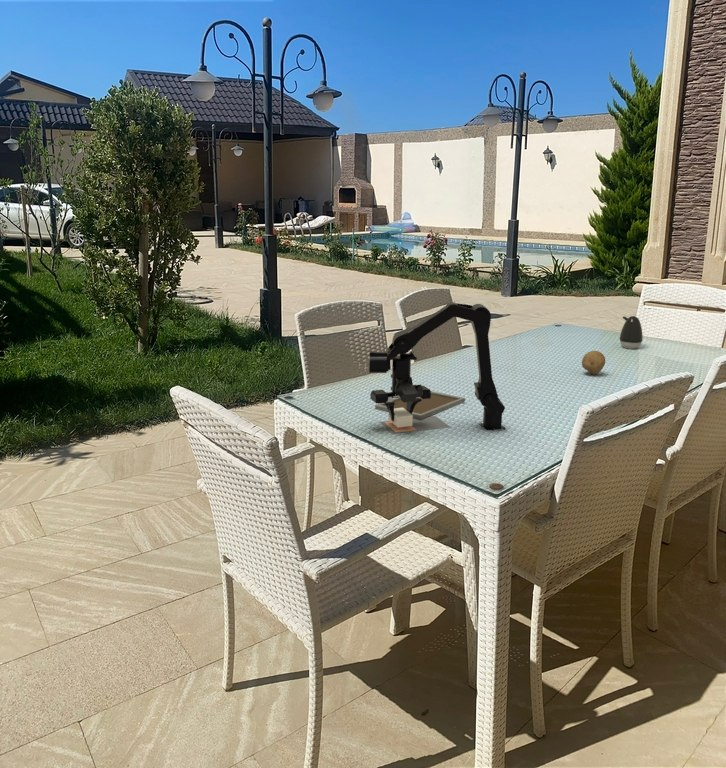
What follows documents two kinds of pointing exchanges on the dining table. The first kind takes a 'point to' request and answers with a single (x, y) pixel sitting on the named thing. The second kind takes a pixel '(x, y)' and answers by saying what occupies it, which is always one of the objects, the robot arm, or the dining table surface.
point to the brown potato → (593, 362)
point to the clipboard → (427, 404)
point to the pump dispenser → (631, 333)
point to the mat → (417, 425)
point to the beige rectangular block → (402, 418)
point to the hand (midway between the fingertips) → (400, 420)
